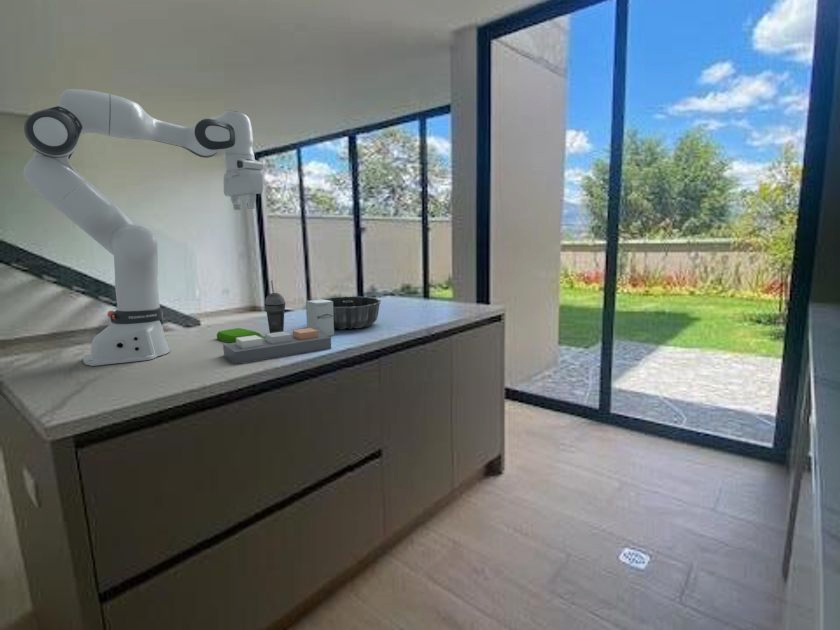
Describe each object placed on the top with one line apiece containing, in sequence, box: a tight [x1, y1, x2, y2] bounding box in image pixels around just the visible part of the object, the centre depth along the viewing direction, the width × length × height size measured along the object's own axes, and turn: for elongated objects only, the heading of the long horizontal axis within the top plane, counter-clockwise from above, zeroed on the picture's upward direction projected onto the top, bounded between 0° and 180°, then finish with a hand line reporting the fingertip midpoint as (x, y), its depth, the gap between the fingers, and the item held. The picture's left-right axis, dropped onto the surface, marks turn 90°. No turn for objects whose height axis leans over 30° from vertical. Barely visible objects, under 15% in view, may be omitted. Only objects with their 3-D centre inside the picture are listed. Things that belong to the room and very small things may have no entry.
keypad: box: [222, 333, 332, 365], centre depth 148 cm, size 30×12×4 cm, turn 128°
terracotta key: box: [292, 327, 318, 340], centre depth 153 cm, size 6×6×3 cm
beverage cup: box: [264, 280, 286, 333], centre depth 169 cm, size 7×7×20 cm
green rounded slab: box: [216, 327, 265, 343], centre depth 163 cm, size 3×11×24 cm
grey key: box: [264, 331, 292, 344], centre depth 148 cm, size 6×6×3 cm
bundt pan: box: [321, 296, 382, 330], centre depth 189 cm, size 26×26×10 cm
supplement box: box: [305, 298, 335, 337], centre depth 171 cm, size 7×7×13 cm
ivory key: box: [236, 335, 263, 349], centre depth 142 cm, size 6×6×3 cm
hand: (244, 209), depth 155 cm, fingers open, 8 cm apart
